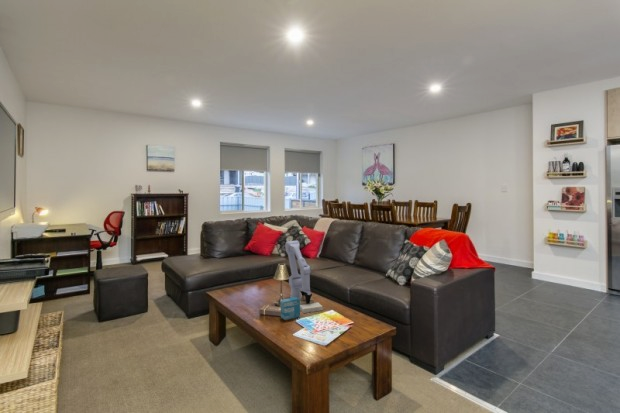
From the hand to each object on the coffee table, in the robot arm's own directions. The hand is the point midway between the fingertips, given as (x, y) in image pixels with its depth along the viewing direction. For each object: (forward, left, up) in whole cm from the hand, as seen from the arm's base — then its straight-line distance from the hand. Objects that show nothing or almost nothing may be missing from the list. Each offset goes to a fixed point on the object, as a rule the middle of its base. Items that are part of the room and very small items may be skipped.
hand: (306, 301), depth 227 cm
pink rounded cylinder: (0, 0, +1) cm, 1 cm away
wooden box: (0, 0, -2) cm, 2 cm away
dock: (+10, 0, -2) cm, 11 cm away
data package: (+18, -17, -2) cm, 25 cm away
